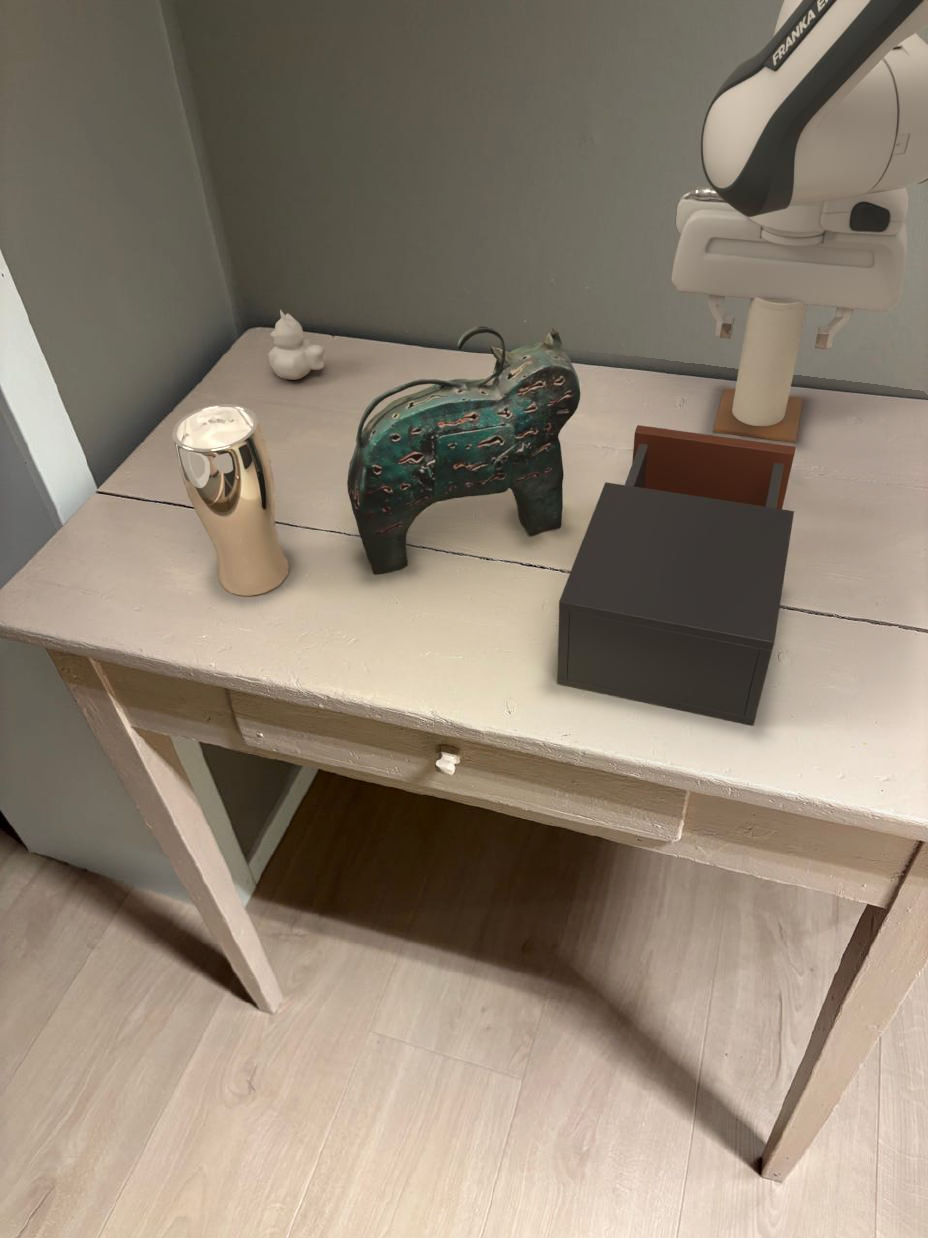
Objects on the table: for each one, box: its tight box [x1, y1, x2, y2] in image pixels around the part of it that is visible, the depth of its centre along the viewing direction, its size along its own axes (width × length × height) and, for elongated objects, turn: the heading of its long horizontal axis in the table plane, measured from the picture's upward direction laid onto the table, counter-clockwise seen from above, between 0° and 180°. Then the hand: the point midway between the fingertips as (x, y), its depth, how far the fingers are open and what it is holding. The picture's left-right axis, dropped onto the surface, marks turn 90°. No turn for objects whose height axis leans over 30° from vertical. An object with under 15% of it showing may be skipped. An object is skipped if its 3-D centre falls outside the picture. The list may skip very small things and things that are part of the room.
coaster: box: [712, 387, 804, 444], centre depth 98 cm, size 8×8×1 cm
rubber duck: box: [267, 308, 325, 381], centre depth 106 cm, size 5×7×8 cm
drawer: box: [624, 424, 796, 509], centre depth 82 cm, size 18×13×7 cm
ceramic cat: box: [346, 325, 581, 575], centre depth 79 cm, size 20×6×20 cm, turn 108°
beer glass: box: [171, 403, 290, 597], centre depth 79 cm, size 7×7×15 cm
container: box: [732, 297, 809, 426], centre depth 93 cm, size 5×5×13 cm
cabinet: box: [556, 482, 795, 726], centre depth 73 cm, size 15×15×9 cm
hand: (772, 340), depth 92 cm, fingers open, 8 cm apart
